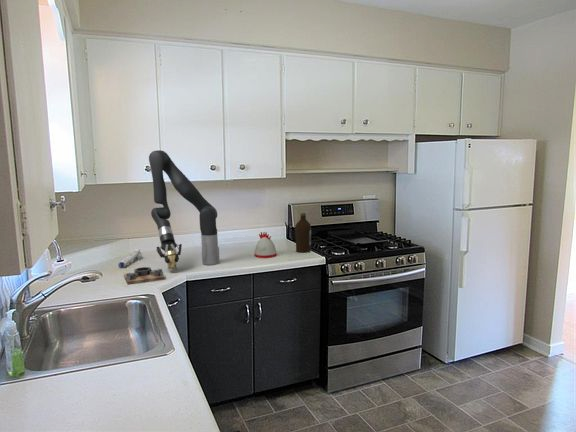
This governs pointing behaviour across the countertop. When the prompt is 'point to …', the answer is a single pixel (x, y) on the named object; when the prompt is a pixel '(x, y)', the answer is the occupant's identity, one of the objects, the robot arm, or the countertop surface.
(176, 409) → the countertop surface
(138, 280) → the walnut shaft board
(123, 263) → the white capped tube
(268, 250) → the grey pompom beanie hat
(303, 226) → the olive oil
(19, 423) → the countertop surface
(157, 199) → the robot arm
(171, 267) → the cylinder
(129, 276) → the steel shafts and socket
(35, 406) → the countertop surface
